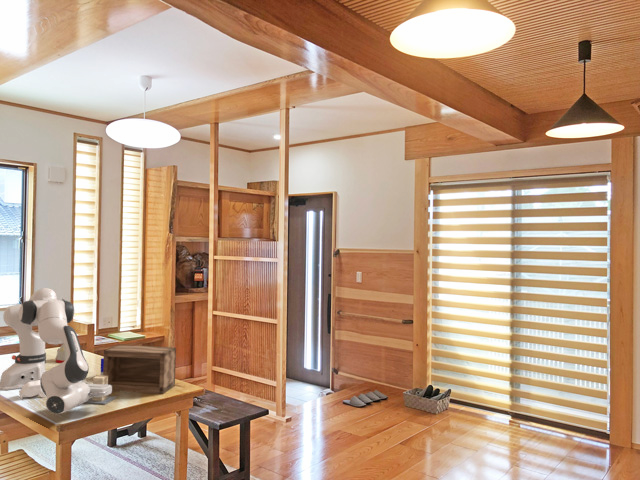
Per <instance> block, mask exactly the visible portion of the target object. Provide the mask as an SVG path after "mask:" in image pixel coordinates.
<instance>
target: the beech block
mask: <svg viewBox="0 0 640 480" xmlns="http://www.w3.org/2000/svg"><path fill="white" fill-rule="evenodd" d="M92 384H108V376H103V375H100V374H98V375H96V376H94V377H93V378H92ZM107 396H108V395H107ZM107 396H104V397H93V398H92V397H91V398H92V401H103V400H105V399H107Z"/></svg>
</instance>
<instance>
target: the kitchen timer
mask: <svg viewBox="0 0 640 480" xmlns="http://www.w3.org/2000/svg"><path fill="white" fill-rule="evenodd" d="M67 357H68V354H67V350H66V347H65V343H63V344H60V347H59V348H58V349H57V351H56V356H55V362H56V363H58V364H61V363H62V362H64V361H65V360H66V359H67Z"/></svg>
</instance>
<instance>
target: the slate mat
mask: <svg viewBox="0 0 640 480" xmlns="http://www.w3.org/2000/svg"><path fill="white" fill-rule="evenodd" d="M92 398H93V397H89V399H88V400H87V401H86V402H85V403H84V404H86V405H100V406H101V405H103V406H104V405H107V404H108V403H110V402H112V401H113V400H115V399H117V396H110V395H107V399H105V400H103V401H92Z"/></svg>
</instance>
